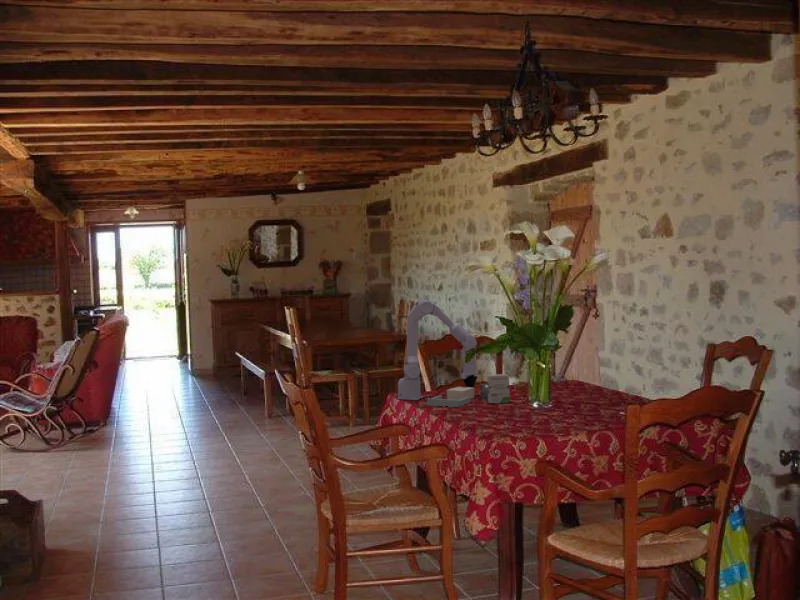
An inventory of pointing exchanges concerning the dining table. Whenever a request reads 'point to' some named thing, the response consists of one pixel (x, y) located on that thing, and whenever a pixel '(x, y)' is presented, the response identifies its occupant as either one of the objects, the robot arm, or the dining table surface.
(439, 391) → the dining table surface
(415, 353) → the robot arm
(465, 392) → the carton
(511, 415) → the dining table surface
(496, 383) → the ink box
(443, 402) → the display stand
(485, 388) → the grey glossy ball
